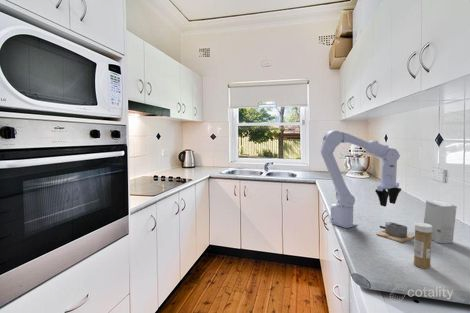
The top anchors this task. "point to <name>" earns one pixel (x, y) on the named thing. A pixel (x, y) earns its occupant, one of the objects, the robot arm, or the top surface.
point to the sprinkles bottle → (422, 245)
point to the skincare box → (440, 220)
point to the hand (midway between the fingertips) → (387, 204)
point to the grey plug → (395, 229)
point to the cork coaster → (395, 237)
